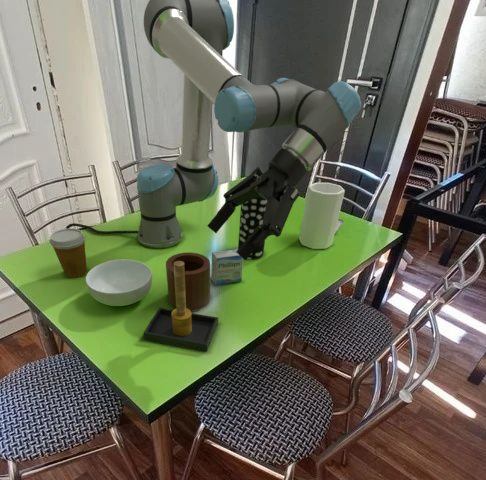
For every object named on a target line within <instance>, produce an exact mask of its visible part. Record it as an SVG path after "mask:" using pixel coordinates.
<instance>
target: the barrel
mask: <svg viewBox="0 0 486 480" xmlns="http://www.w3.org/2000/svg"><path fill="white" fill-rule="evenodd" d="M176 261H183V262H184V269H185V295H186V308H187V309H189V310H190V311H191V312H195V311H198V310H201V309H203V308H205V307H206V306H207V305H208V304H209V303H210V297H211V260H210V259H209V258H208V257H207V256H205V255H204V254H200V253H199V252H191V251H190V252H179V253H176V254H173V255H171V256H170V257H168V258H167V260H166V261H165V271H166V272H165V273H166V286H167V300H168V303H169V304H170V306H171V307H172V308H174V309H176V295H175V278H174V262H176Z"/></svg>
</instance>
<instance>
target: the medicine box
mask: <svg viewBox="0 0 486 480" xmlns="http://www.w3.org/2000/svg"><path fill="white" fill-rule="evenodd" d="M237 250H238V248H234V249H232V248H231V249H225V250H218V251H212V252H211V273H210V279H211V280H212V281H213V283H214V285H215V286H221V285H228V284H234V283H238V282H239V283H240V282H242V278H243V265H244V264H243V263H244V259H243V258H242V257H241V256H240V255H239V254H237V253H236V251H237Z"/></svg>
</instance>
